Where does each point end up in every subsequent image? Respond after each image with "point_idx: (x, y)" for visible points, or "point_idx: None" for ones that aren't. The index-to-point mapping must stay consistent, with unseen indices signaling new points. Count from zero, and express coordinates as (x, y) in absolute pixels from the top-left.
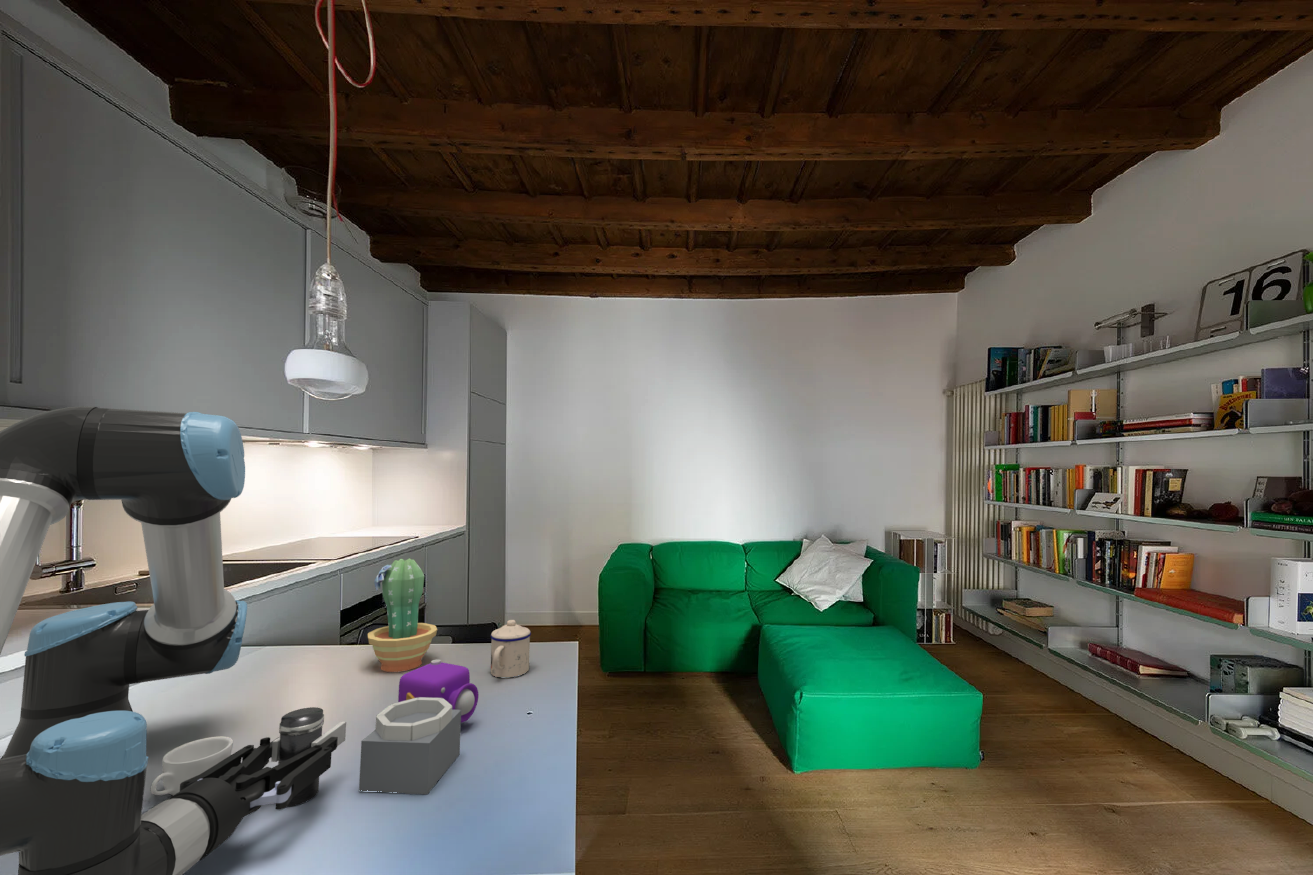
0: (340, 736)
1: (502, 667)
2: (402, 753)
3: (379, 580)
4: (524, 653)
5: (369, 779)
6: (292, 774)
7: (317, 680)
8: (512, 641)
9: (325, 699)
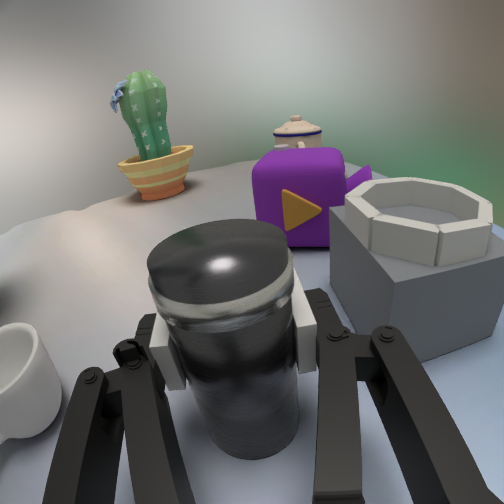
0: None
1: None
2: (475, 284)
3: (117, 97)
4: None
5: None
6: (462, 482)
7: (85, 223)
8: (311, 135)
9: (111, 238)
